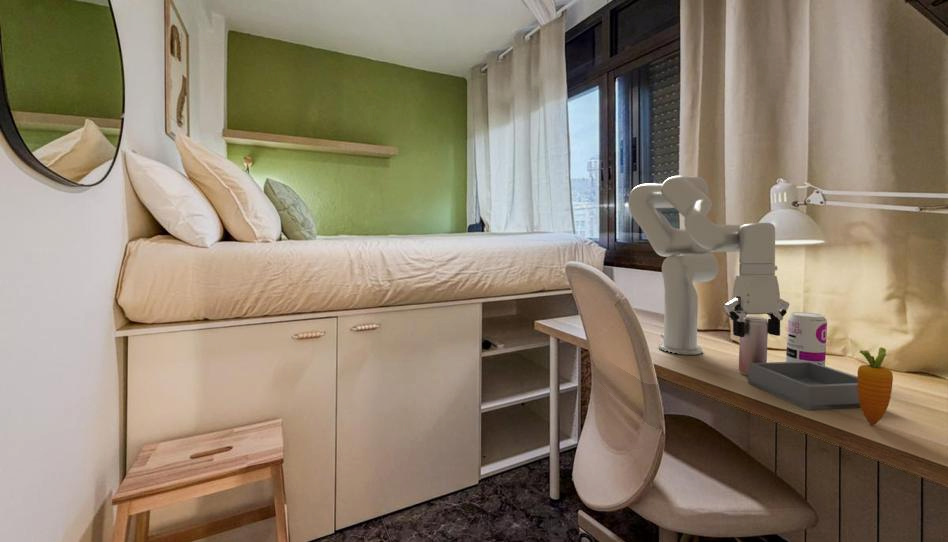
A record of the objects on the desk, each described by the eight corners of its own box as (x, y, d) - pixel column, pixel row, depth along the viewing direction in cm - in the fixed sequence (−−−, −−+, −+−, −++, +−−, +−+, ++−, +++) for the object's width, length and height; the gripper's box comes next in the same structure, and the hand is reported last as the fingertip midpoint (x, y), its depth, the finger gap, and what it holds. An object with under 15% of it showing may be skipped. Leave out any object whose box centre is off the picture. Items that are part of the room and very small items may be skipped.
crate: (748, 382, 96) (749, 363, 95) (808, 380, 97) (809, 361, 97) (808, 410, 80) (809, 387, 80) (879, 407, 81) (880, 384, 81)
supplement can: (830, 369, 105) (833, 315, 104) (815, 374, 101) (818, 318, 100) (795, 361, 112) (797, 311, 111) (779, 366, 108) (782, 313, 107)
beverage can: (737, 369, 106) (739, 315, 105) (764, 372, 103) (766, 317, 102) (739, 375, 101) (741, 319, 100) (767, 379, 98) (769, 321, 97)
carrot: (861, 428, 72) (866, 349, 71) (848, 417, 77) (852, 343, 76) (897, 433, 70) (902, 352, 69) (881, 421, 75) (886, 345, 74)
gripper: (775, 269, 104) (775, 331, 105) (715, 270, 103) (715, 333, 104) (801, 270, 97) (800, 337, 98) (736, 271, 96) (735, 339, 96)
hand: (756, 335), depth 101 cm, fingers open, 9 cm apart
